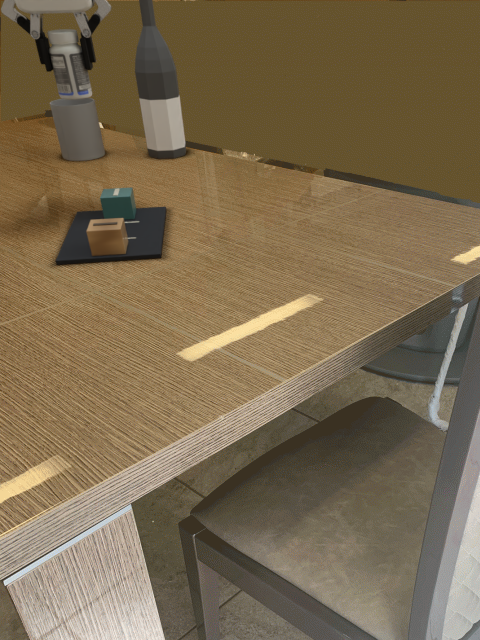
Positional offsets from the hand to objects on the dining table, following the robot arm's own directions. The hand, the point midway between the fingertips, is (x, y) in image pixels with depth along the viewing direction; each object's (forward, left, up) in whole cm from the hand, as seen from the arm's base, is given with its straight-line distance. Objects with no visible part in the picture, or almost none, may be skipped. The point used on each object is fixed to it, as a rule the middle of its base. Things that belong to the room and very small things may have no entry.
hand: (69, 67), depth 93 cm
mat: (+4, -12, -20) cm, 24 cm away
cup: (-7, +35, -21) cm, 41 cm away
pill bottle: (0, 0, -4) cm, 4 cm away
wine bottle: (+10, +33, -21) cm, 40 cm away
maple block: (+4, -19, -20) cm, 28 cm away
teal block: (+4, -5, -20) cm, 21 cm away
